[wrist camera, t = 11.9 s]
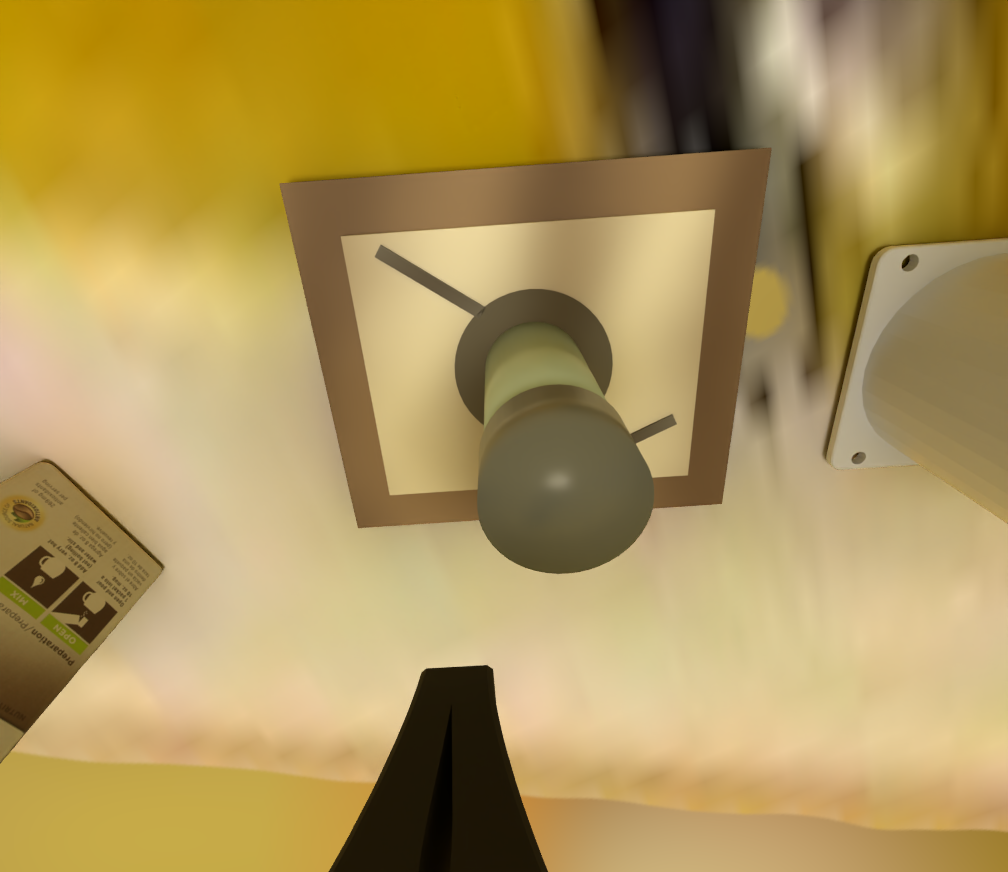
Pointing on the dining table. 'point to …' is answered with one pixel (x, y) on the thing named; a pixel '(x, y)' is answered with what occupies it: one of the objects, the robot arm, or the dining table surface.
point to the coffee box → (56, 590)
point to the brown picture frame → (528, 311)
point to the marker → (555, 458)
